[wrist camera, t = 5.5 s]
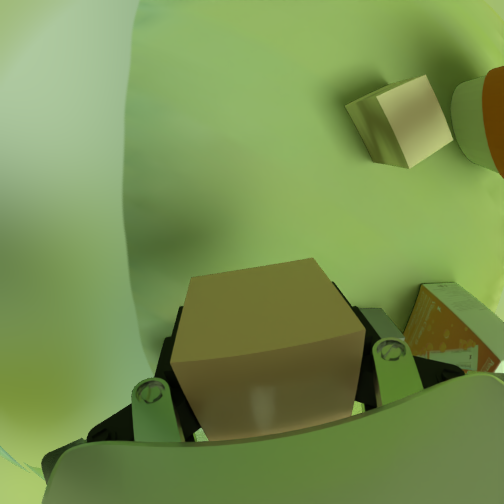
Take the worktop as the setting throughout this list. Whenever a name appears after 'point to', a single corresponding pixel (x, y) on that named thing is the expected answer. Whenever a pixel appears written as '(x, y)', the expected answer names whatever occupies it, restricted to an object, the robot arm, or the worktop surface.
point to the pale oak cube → (401, 122)
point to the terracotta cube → (267, 350)
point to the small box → (455, 329)
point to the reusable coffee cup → (481, 119)
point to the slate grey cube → (381, 323)
